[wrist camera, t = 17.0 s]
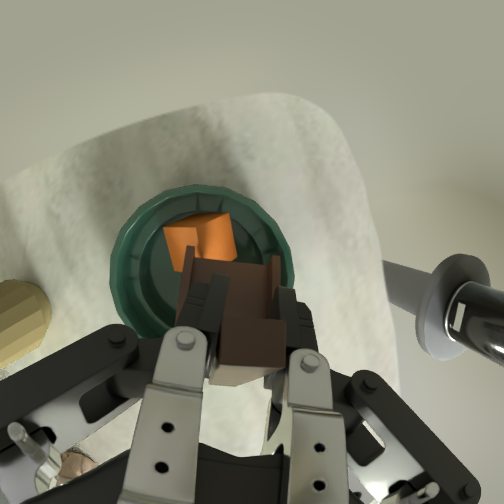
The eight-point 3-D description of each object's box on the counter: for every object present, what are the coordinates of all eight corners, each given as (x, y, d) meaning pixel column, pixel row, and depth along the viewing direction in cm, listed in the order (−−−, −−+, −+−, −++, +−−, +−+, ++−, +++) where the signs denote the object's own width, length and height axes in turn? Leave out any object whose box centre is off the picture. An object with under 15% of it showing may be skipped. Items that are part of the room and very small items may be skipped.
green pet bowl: (288, 202, 28) (305, 199, 23) (267, 346, 30) (278, 371, 25) (135, 184, 26) (118, 177, 21) (126, 331, 28) (110, 353, 22)
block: (207, 277, 22) (195, 227, 21) (174, 271, 24) (162, 227, 23) (237, 256, 25) (229, 212, 24) (204, 253, 27) (195, 213, 26)
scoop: (271, 388, 18) (363, 366, 8) (172, 380, 17) (129, 352, 7) (273, 269, 22) (333, 152, 12) (187, 259, 22) (183, 128, 11)
